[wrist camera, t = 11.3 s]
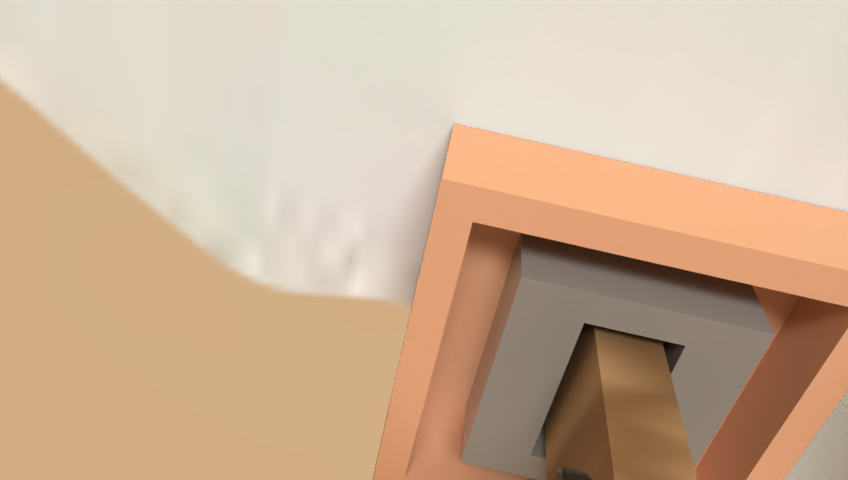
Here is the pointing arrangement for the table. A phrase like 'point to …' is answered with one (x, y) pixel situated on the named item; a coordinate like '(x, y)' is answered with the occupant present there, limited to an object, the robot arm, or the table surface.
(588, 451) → the wooden block
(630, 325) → the candle dish
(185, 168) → the table surface
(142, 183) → the table surface
